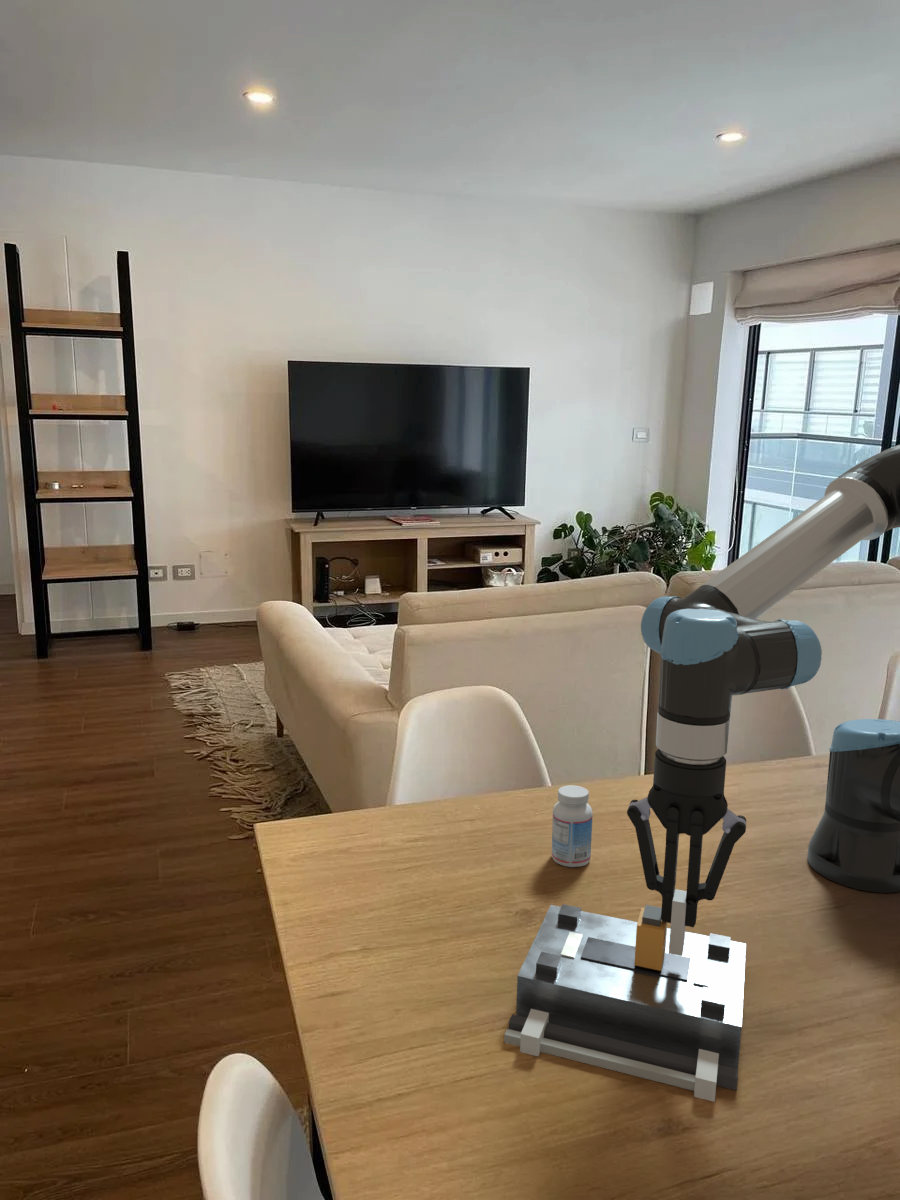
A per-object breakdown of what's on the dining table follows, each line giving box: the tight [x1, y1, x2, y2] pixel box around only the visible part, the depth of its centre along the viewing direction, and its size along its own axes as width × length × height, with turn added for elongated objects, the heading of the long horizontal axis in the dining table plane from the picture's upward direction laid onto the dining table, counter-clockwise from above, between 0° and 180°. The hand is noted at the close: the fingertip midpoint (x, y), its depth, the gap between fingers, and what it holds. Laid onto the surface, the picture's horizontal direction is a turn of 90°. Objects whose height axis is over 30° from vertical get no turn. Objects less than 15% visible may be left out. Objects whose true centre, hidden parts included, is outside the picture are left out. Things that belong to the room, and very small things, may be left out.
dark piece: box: [503, 1009, 739, 1103], centre depth 103 cm, size 24×26×2 cm
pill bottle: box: [551, 784, 594, 868], centre depth 135 cm, size 6×6×11 cm
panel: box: [515, 903, 747, 1070], centre depth 103 cm, size 24×16×6 cm, turn 70°
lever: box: [634, 904, 668, 971], centre depth 101 cm, size 3×4×6 cm
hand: (676, 948), depth 100 cm, fingers closed
